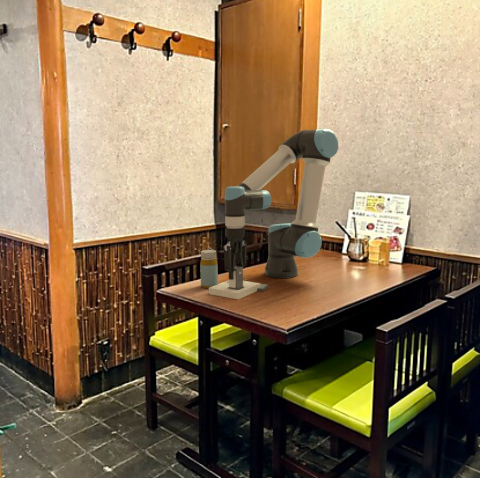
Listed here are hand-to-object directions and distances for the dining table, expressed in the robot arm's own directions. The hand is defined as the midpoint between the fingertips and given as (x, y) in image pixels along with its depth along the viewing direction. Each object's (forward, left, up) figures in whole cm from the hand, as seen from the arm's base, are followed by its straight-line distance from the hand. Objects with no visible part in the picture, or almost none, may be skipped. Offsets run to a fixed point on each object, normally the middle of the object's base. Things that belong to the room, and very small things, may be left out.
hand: (235, 285), depth 192 cm
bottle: (-3, -15, -3) cm, 16 cm away
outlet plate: (-2, -2, -3) cm, 4 cm away
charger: (0, 0, -3) cm, 3 cm away
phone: (-11, +5, -3) cm, 13 cm away
